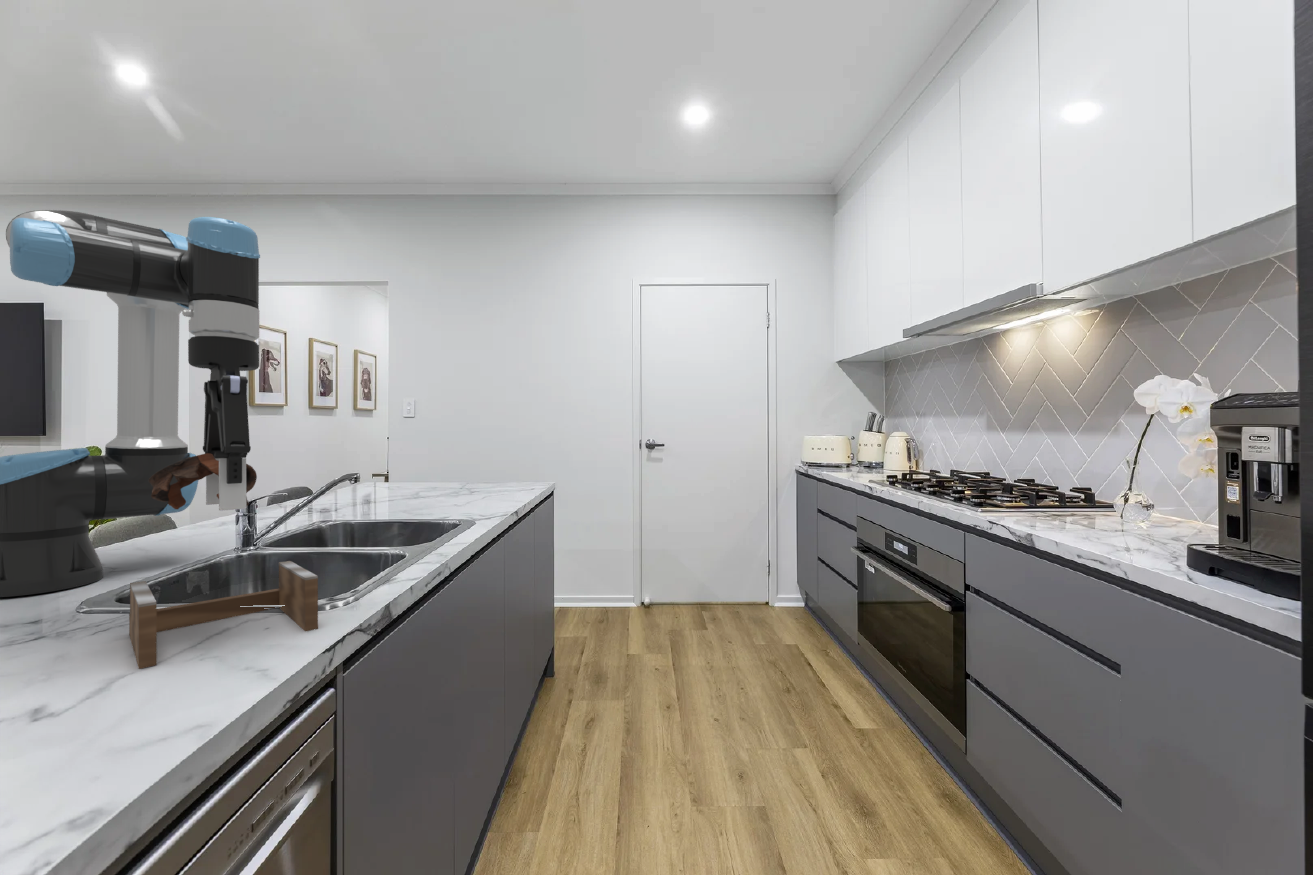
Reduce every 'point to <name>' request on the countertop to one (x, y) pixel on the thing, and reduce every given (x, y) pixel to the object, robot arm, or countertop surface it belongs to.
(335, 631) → the countertop surface
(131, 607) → the wooden stand
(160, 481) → the pottery mug
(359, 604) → the countertop surface
